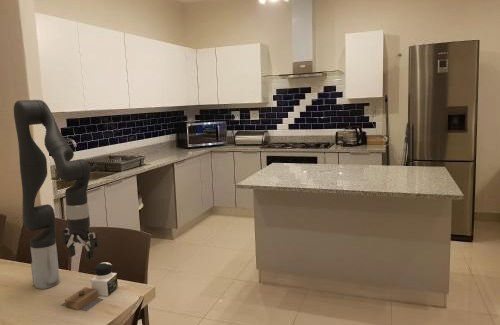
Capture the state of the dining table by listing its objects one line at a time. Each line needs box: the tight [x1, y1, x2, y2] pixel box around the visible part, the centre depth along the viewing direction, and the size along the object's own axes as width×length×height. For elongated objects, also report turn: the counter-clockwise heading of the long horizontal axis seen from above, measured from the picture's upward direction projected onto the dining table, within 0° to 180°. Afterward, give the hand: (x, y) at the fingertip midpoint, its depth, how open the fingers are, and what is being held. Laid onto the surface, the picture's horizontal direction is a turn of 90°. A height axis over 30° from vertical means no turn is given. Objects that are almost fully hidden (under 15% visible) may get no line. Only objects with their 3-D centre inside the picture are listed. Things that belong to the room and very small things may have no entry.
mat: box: [60, 297, 104, 312], centre depth 149 cm, size 12×9×1 cm
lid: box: [64, 286, 99, 311], centre depth 148 cm, size 6×10×4 cm, turn 159°
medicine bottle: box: [90, 262, 119, 297], centre depth 156 cm, size 7×7×12 cm
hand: (81, 257), depth 146 cm, fingers open, 8 cm apart
